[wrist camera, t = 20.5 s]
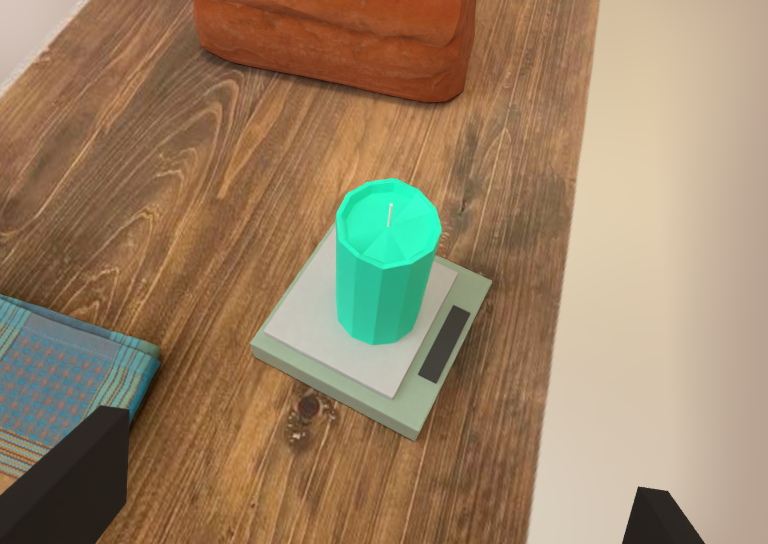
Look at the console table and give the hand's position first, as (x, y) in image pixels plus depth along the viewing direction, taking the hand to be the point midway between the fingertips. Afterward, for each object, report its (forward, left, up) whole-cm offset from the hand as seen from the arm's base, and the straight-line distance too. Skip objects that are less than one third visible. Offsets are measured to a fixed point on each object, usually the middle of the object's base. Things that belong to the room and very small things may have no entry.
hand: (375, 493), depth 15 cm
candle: (+6, -15, -22) cm, 27 cm away
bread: (+24, -42, -25) cm, 55 cm away
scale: (+6, -15, -24) cm, 29 cm away
